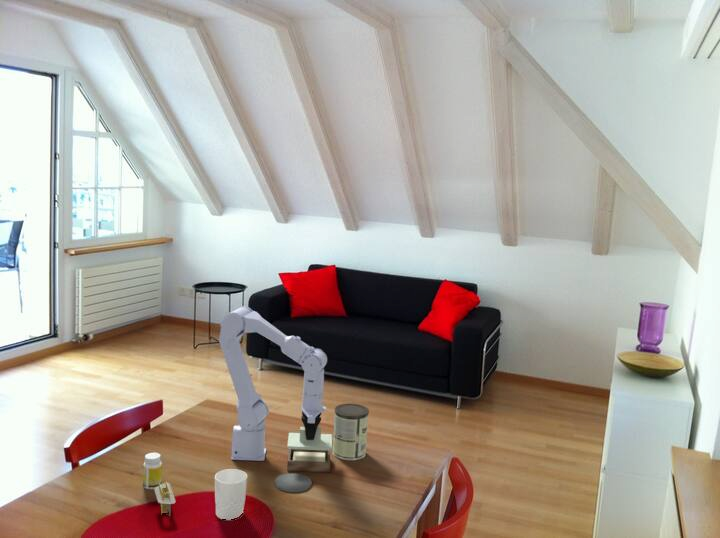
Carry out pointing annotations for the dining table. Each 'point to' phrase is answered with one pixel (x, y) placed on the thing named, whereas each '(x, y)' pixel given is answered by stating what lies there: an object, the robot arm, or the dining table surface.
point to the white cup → (230, 493)
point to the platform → (165, 496)
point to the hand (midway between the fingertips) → (310, 437)
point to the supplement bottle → (152, 471)
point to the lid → (310, 441)
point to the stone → (293, 482)
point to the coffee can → (350, 431)
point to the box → (309, 460)
